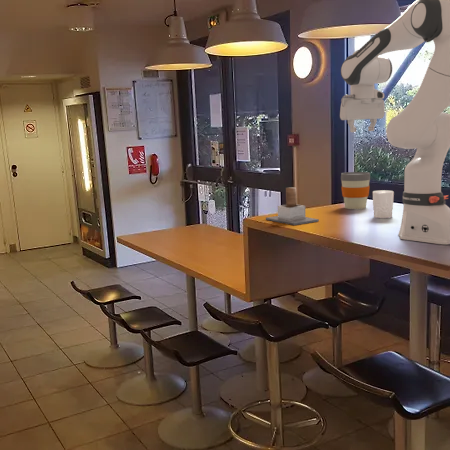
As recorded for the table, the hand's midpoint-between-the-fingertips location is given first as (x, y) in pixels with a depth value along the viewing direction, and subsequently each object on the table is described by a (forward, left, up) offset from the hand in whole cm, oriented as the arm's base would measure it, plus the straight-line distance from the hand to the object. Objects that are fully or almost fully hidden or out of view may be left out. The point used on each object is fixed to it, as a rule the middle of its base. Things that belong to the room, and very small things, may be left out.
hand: (362, 131), depth 212 cm
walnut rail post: (+14, +24, -32) cm, 43 cm away
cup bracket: (+14, +24, -33) cm, 43 cm away
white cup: (-5, -6, -33) cm, 34 cm away
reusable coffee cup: (+20, -16, -33) cm, 42 cm away
